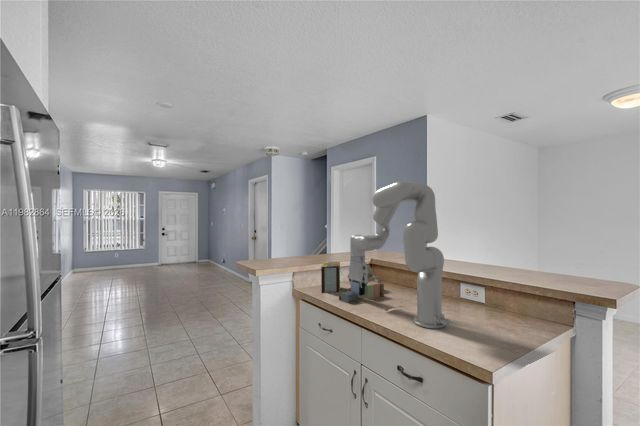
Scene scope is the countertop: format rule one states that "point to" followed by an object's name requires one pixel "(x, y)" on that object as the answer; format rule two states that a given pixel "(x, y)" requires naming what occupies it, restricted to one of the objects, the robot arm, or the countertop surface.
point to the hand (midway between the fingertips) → (357, 293)
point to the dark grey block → (349, 297)
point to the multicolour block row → (360, 299)
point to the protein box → (330, 277)
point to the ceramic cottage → (372, 275)
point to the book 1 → (356, 287)
